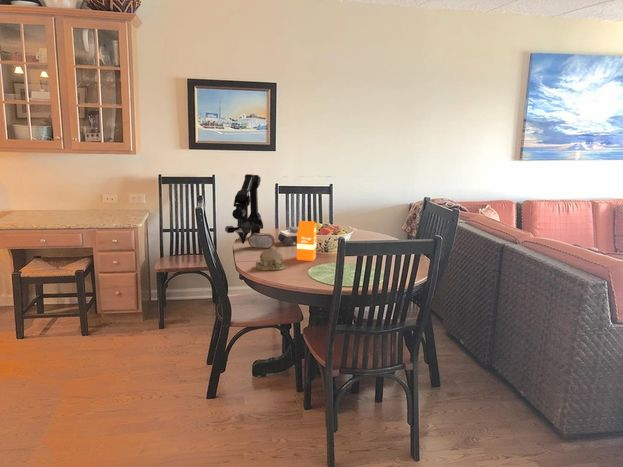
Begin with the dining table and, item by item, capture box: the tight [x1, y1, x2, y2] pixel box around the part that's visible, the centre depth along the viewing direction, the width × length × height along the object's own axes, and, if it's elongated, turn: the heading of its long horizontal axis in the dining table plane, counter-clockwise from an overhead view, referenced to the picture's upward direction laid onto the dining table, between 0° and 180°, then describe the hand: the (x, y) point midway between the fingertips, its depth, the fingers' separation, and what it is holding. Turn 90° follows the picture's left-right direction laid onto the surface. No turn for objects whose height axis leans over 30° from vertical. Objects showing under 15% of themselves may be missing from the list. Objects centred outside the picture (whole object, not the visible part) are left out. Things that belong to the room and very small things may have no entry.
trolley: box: [277, 226, 298, 247], centre depth 277 cm, size 10×13×9 cm
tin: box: [247, 232, 276, 250], centre depth 264 cm, size 15×3×8 cm, turn 84°
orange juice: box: [296, 220, 317, 262], centre depth 244 cm, size 8×9×20 cm
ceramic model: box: [255, 247, 287, 271], centre depth 227 cm, size 14×11×10 cm
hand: (242, 243), depth 260 cm, fingers closed
